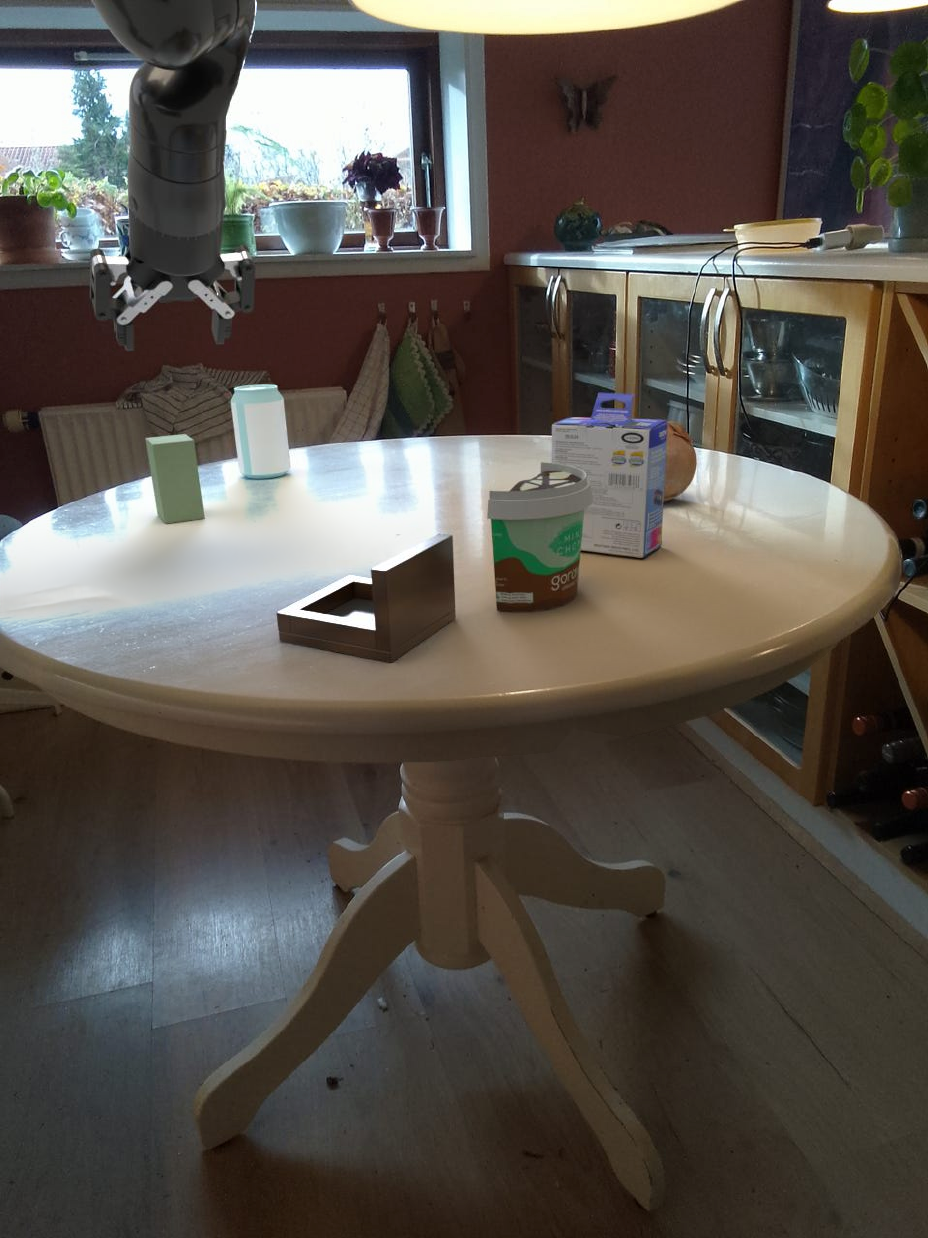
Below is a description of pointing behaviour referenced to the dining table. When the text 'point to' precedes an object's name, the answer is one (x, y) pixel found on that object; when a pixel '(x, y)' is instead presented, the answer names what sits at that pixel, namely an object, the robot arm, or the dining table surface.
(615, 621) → the dining table surface
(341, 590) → the seat frame
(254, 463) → the can
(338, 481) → the dining table surface
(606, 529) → the ink cartridge box
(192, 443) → the green rectangular block
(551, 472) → the food container
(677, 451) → the onion
